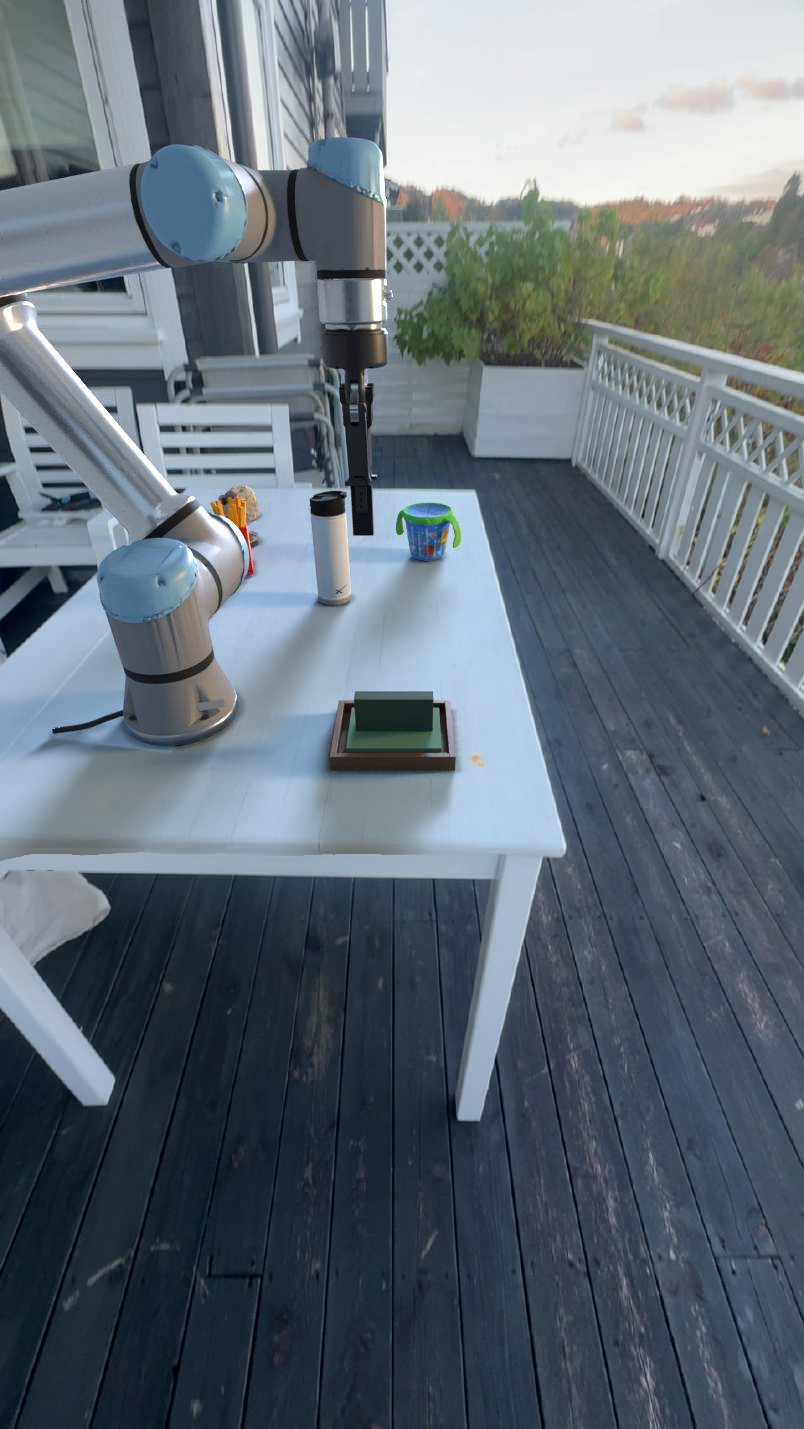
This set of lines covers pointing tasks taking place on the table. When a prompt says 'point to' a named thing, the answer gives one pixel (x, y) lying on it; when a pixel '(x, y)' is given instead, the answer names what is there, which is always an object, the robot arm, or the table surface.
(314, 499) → the travel mug
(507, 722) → the table surface
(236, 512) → the french fries container
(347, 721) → the back frame
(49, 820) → the table surface
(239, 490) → the sponge
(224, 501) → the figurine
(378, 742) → the back pad
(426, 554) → the snack cup
